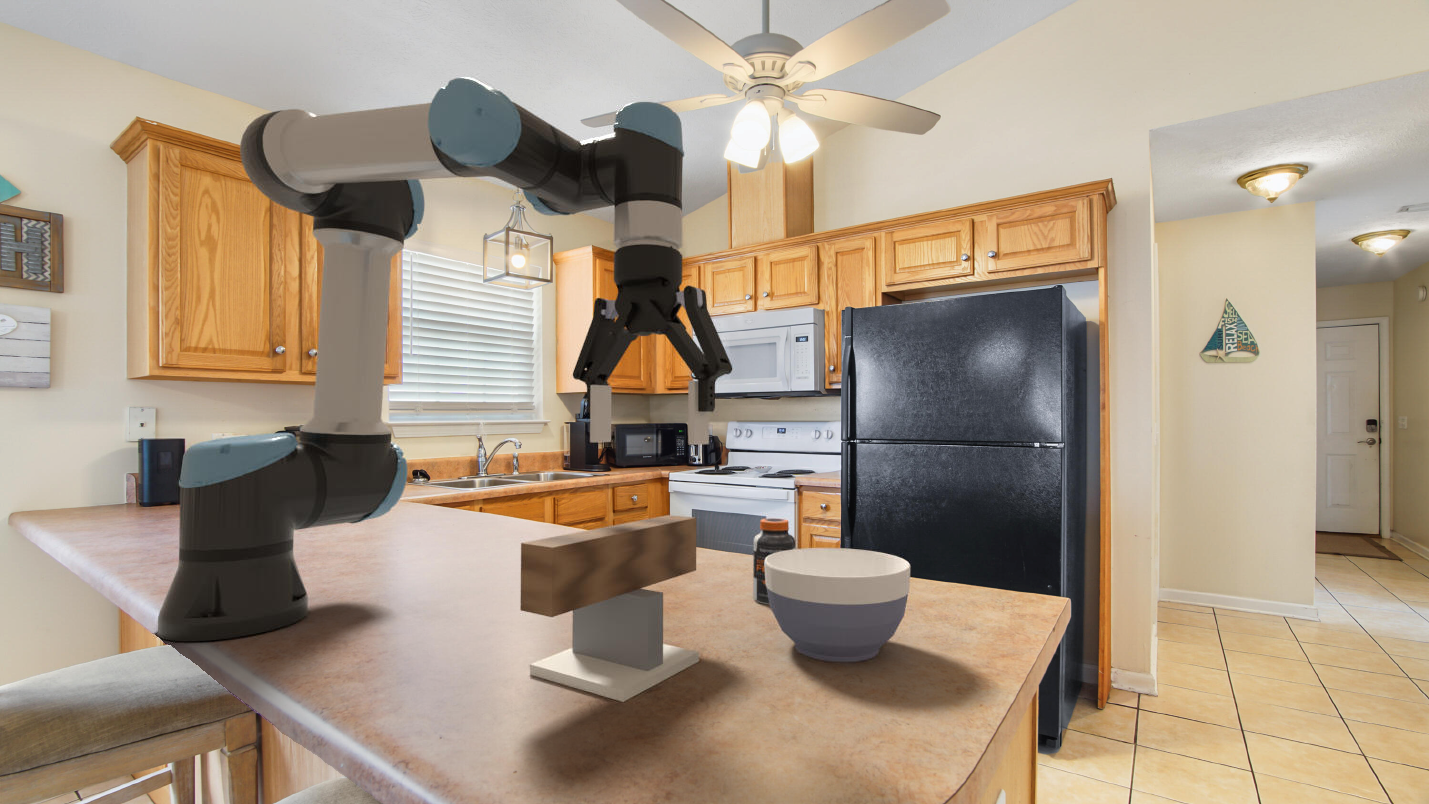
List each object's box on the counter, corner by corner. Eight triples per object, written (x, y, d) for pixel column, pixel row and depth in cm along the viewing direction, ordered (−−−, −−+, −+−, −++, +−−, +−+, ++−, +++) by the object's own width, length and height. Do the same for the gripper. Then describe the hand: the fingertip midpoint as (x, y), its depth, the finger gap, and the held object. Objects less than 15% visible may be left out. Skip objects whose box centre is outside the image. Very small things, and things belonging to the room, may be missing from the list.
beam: (551, 617, 57) (552, 547, 57) (520, 610, 59) (521, 543, 60) (696, 570, 76) (696, 517, 76) (668, 566, 78) (668, 515, 78)
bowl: (921, 636, 77) (920, 554, 77) (898, 685, 63) (896, 583, 63) (790, 619, 84) (790, 543, 84) (742, 660, 69) (742, 568, 70)
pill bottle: (750, 604, 91) (750, 521, 91) (755, 593, 97) (755, 516, 97) (794, 606, 90) (794, 522, 90) (796, 595, 96) (796, 517, 96)
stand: (529, 674, 65) (530, 592, 66) (611, 641, 75) (611, 570, 76) (622, 701, 59) (623, 611, 59) (698, 661, 69) (698, 584, 69)
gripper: (764, 241, 69) (764, 444, 69) (588, 271, 83) (587, 440, 82) (726, 223, 63) (726, 446, 62) (543, 258, 76) (541, 441, 76)
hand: (647, 443), depth 72 cm, fingers open, 13 cm apart
